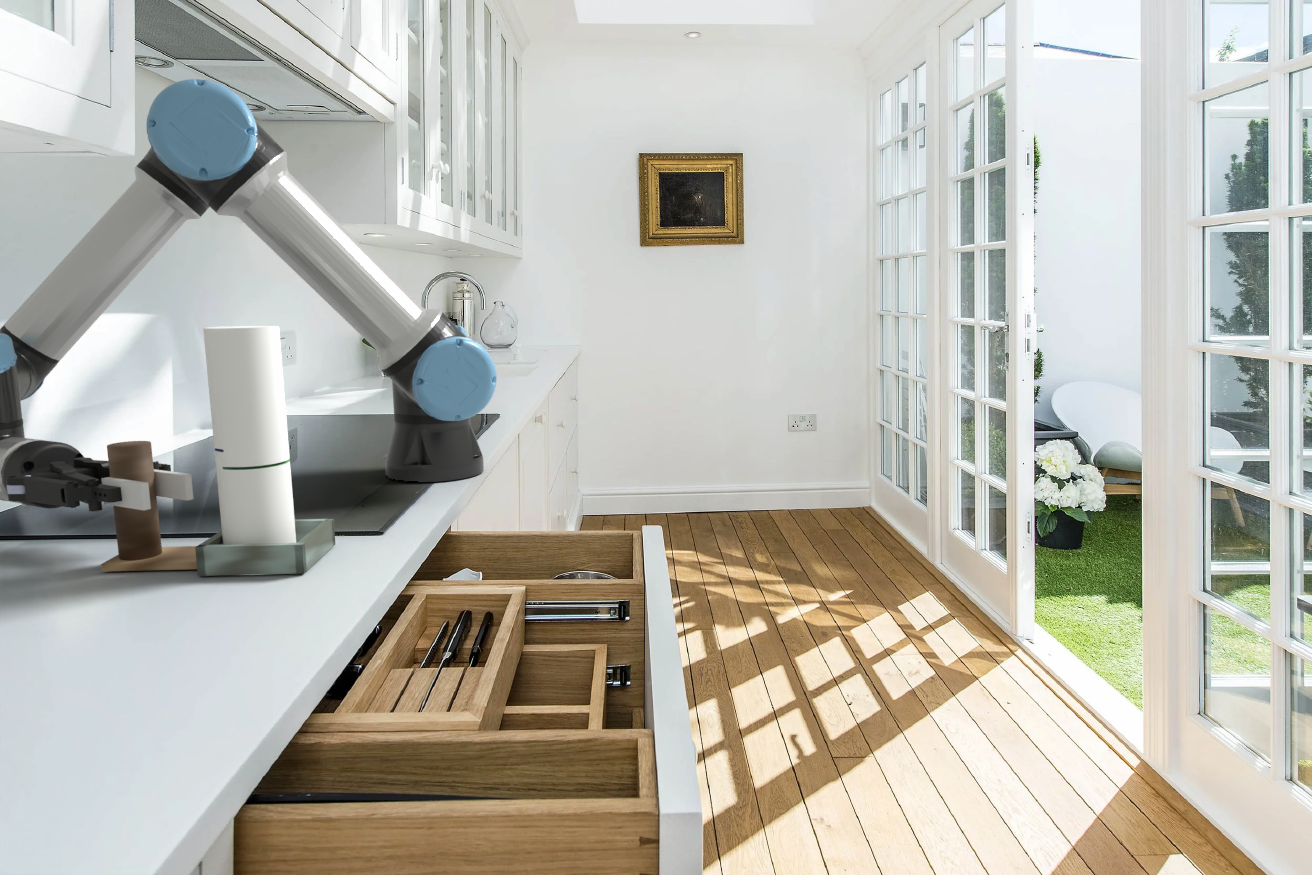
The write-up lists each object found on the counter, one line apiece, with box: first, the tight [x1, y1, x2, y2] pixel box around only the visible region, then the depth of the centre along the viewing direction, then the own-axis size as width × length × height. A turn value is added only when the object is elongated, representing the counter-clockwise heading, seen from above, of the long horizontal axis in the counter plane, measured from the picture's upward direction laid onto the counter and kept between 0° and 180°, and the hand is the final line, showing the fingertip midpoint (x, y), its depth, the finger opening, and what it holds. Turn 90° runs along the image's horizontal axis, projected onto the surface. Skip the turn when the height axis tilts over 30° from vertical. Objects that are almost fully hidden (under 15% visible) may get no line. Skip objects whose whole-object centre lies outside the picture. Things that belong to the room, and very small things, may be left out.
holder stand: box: [100, 440, 336, 577], centre depth 95 cm, size 21×11×13 cm, turn 93°
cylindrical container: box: [202, 325, 296, 544], centre depth 95 cm, size 7×7×25 cm
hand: (167, 491), depth 92 cm, fingers closed on holder stand, 4 cm apart
